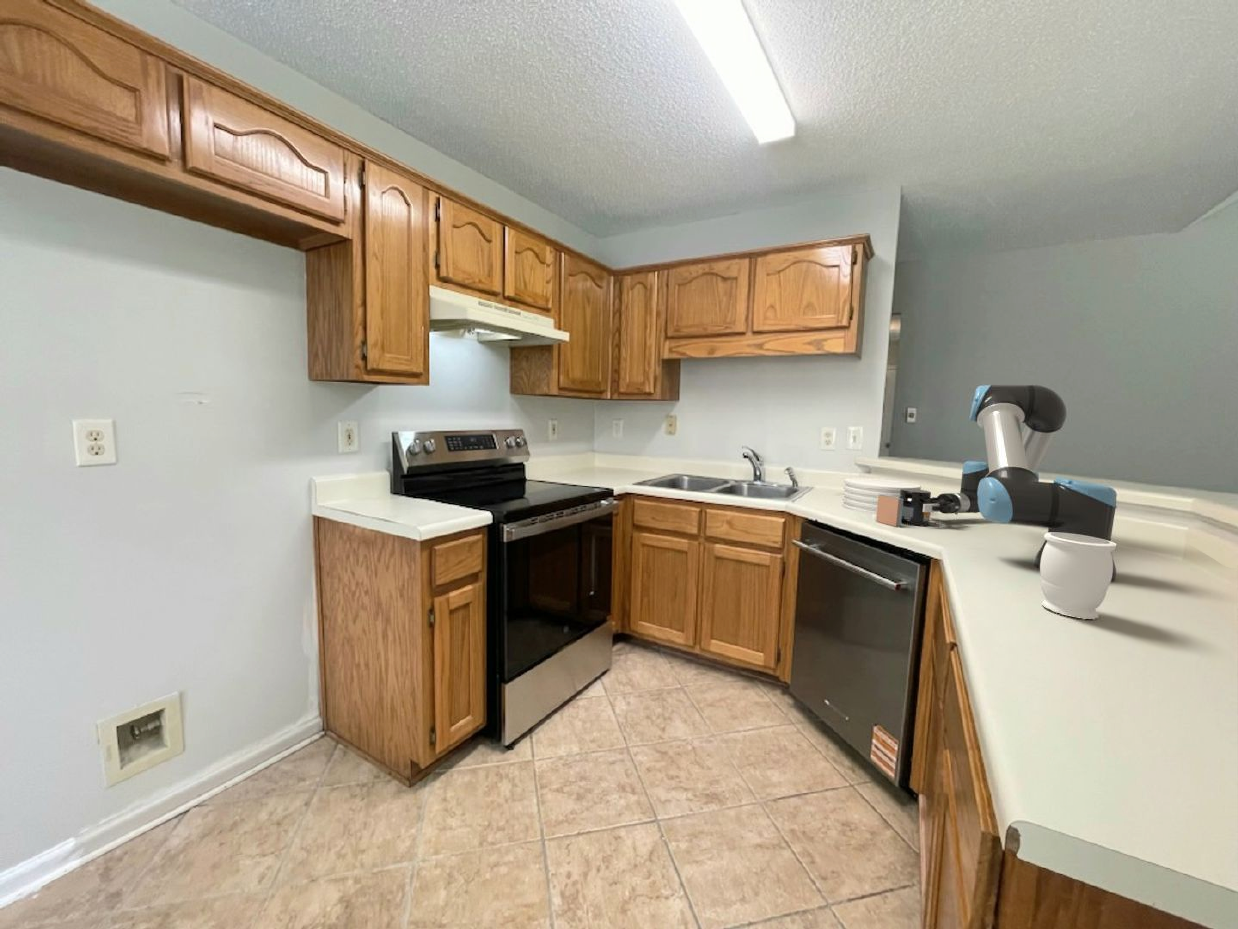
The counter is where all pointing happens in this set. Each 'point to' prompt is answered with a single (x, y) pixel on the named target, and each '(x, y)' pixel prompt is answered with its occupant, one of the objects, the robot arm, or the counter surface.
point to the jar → (1075, 573)
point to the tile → (889, 510)
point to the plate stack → (871, 492)
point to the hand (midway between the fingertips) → (907, 504)
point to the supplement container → (915, 507)
